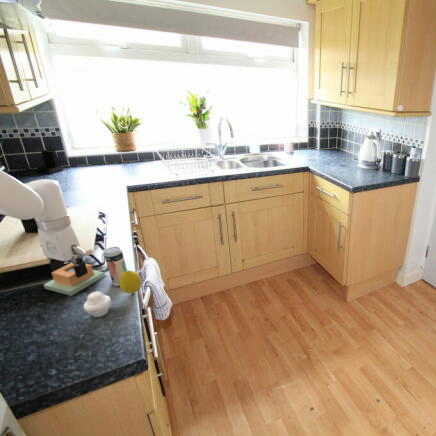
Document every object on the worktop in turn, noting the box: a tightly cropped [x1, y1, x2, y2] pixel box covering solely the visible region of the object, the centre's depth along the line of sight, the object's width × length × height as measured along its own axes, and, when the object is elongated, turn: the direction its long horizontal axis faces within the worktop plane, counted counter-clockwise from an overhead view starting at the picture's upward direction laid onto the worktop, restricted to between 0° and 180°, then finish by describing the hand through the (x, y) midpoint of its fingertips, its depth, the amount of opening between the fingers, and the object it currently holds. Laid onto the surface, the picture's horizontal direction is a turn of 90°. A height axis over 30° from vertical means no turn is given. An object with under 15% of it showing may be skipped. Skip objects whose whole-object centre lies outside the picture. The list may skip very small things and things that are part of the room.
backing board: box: [43, 269, 106, 297], centre depth 100 cm, size 11×11×4 cm
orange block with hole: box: [51, 262, 94, 286], centre depth 100 cm, size 7×7×4 cm
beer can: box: [103, 246, 128, 287], centre depth 99 cm, size 5×5×12 cm
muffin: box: [83, 291, 112, 318], centre depth 87 cm, size 6×6×7 cm
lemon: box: [119, 270, 142, 295], centre depth 95 cm, size 6×6×8 cm
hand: (70, 272), depth 99 cm, fingers open, 9 cm apart
